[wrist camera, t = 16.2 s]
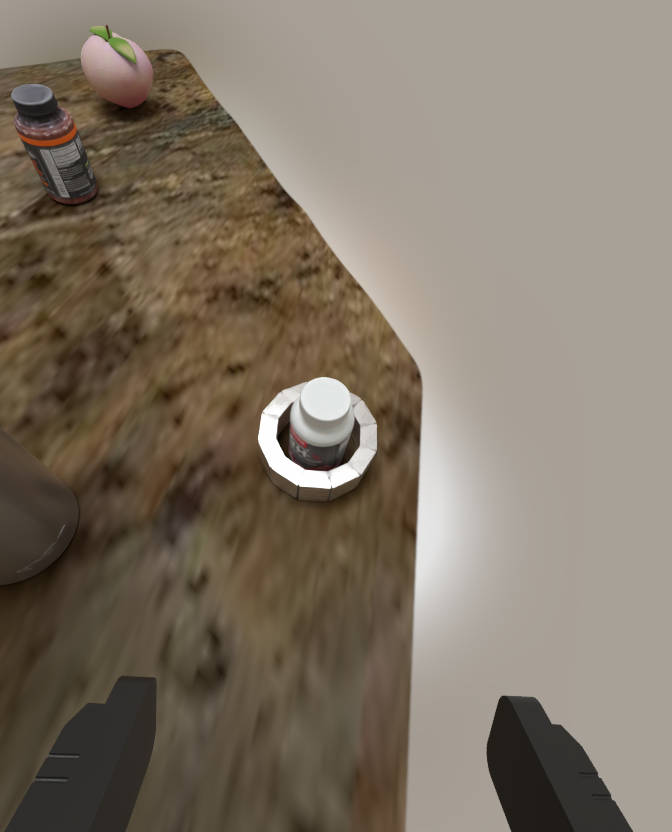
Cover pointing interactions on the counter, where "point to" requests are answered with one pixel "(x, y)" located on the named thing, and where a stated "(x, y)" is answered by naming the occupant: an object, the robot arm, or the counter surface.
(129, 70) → the decorative fruit
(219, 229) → the counter surface
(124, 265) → the counter surface
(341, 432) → the pill bottle
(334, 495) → the ring collar
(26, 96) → the supplement bottle
